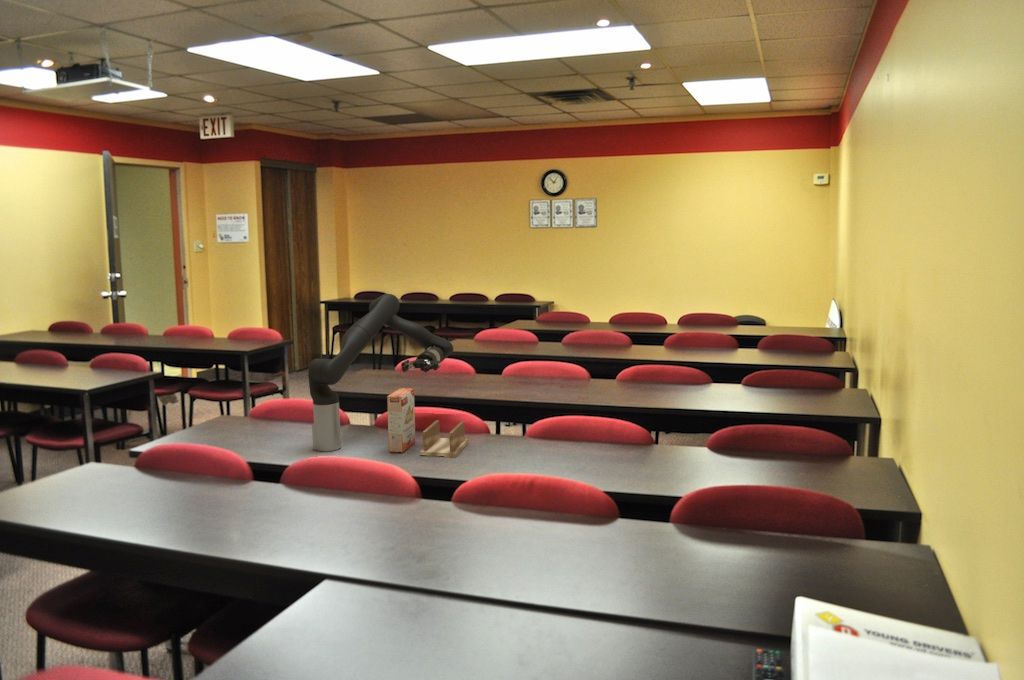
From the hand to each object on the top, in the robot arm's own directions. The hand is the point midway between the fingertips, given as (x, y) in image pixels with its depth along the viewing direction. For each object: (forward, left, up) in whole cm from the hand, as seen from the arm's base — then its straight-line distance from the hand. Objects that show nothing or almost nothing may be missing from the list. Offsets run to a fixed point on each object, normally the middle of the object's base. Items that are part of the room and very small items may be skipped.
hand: (414, 369), depth 293 cm
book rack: (+15, -14, -26) cm, 34 cm away
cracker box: (-1, -14, -27) cm, 30 cm away
